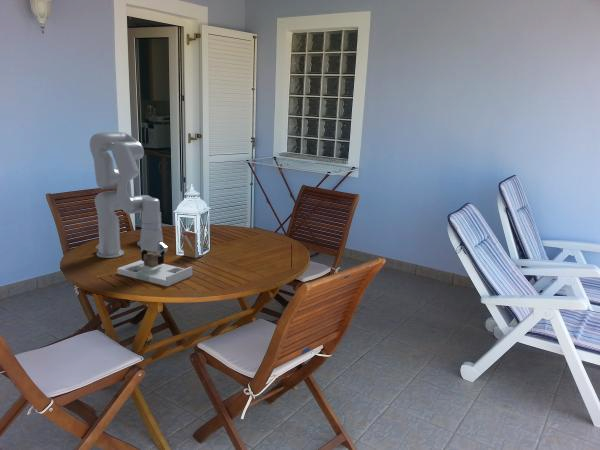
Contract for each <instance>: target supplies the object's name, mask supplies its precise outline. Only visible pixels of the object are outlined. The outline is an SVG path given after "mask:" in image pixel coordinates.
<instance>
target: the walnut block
mask: <svg viewBox="0 0 600 450" xmlns="http://www.w3.org/2000/svg"><path fill="white" fill-rule="evenodd" d="M158 256H159V255H158V254H157V252H150V251H149V252H148V253H147V254H144V265H145V266H149V267H154V266H157V265H158Z"/></svg>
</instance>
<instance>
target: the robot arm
mask: <svg viewBox="0 0 600 450" xmlns="http://www.w3.org/2000/svg"><path fill="white" fill-rule="evenodd" d="M89 150H90V153H91V155H92V159H93V163H94V164H93V166H94V175H95V176H94V177H95V181H96V182H95V183H96V186H97V187H98V188H99V189H103V190H108V189H116V190H110V191H102V192H99V193H98V194H96V196H95V197H94V206H95V209H96V213H97V223H98V224H97V226H98V238H99V241H98V244H97V245H96V246H95V248H96V249H98V251H97V252H96V256H97V257H98V258H103V259H114V258H118V257H121V256H123V255H124V254H125V251H124V250H123V249H121V237H120V236H121V235H120V234H121V233H120V232H121V231H120V219H119V216H118V215H117V213H115V211H119V210H122V211H123V212H124V213H125V214H128V215H133V214H138V213H141V212H142V217H143V222H142V221H141V225H142V224H143V228H142V227H141V230H140V237H139V240H138V241H137V242H136V244H137V246H138V249H139V252H140V253H141V260H142V261H144V254H147V253H150V252H153V253H157V254H158V255H159V256H158V265H161V264H165V255H166V254H167V251H168V249H169V247H168V246H167V245H166V244H165V243H164V237H163V230H162V231H161V229H160V212H161V208H160V207H161V205H160V203H161V202H160V199H158V198H156V197H152V196H150V195H147V194H141V195H133V193H132V182H131V181H132V180H133V179H135V178H137V177H138V176H139V175H140V170H139V167H138V165H137V161H136V160H140V159H142V158H143V157H144V155H145V150H144V147H143V145H142V144H141V142H140V141H138V140H137V139H136V138H134V137H133V136H132V135H130V134H129V133H127V132H118V131H117V132H115V131H114V132H113V131H112V132H106V131H105V132H98V133H95V134H93V135H92V136H91V137H90V139H89ZM110 151H111V154H112V155H111V154H110V153H109V152H110ZM114 162H115V164H116V167H114Z"/></svg>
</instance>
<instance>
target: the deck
mask: <svg viewBox="0 0 600 450" xmlns="http://www.w3.org/2000/svg"><path fill="white" fill-rule="evenodd" d="M116 272H117V274H118V275H121V276H124V277H129V278H133V279H136V280H137V279H138V280H139V281H140V280H141V281H144V282H149V283H152V284H157V285H160V286H163V287H170V286H172V285H175V284H176V283H179V282H182V281H184V280H185V279H188V278H190V277H192V276H193V266H188V267H186V268H184V267H178V266H176V265H170V264H168V263H167V264H166V263H163V264H161V265H157V266H154V267H149V266H145V265H144V261H142V259H140V260H137V261H134V262H131V263H129V264H126V265H123V266H120V267H118V268H117V271H116Z"/></svg>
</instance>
